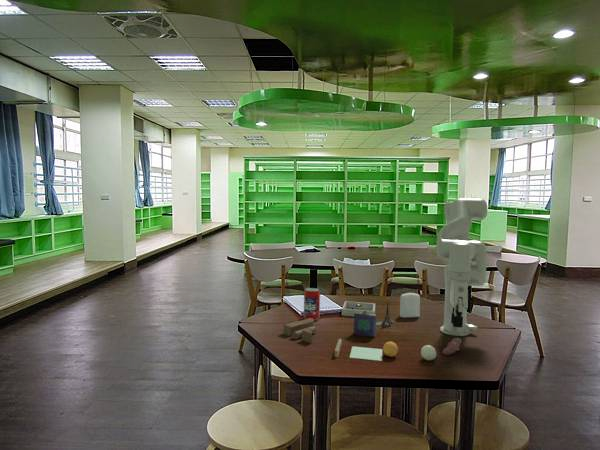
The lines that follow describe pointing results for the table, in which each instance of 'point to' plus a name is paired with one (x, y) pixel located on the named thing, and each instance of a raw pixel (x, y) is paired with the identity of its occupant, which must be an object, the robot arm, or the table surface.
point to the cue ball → (428, 352)
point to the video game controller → (452, 346)
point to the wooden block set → (300, 329)
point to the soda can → (312, 303)
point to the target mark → (366, 353)
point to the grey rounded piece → (358, 306)
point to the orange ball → (390, 349)
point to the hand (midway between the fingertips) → (456, 324)
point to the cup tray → (353, 305)
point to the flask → (365, 324)
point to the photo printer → (409, 305)
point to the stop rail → (338, 348)
